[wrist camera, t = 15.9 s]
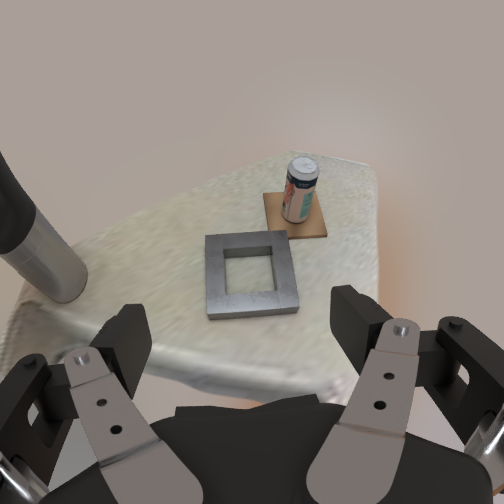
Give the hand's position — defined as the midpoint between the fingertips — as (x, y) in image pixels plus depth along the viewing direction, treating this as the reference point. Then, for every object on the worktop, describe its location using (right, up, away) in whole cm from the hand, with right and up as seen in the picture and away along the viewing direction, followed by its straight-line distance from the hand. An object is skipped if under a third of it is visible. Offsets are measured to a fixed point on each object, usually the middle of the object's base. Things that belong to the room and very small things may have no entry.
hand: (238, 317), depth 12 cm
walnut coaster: (+8, +9, +40) cm, 42 cm away
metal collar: (0, -1, +34) cm, 34 cm away
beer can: (+8, +9, +39) cm, 41 cm away
